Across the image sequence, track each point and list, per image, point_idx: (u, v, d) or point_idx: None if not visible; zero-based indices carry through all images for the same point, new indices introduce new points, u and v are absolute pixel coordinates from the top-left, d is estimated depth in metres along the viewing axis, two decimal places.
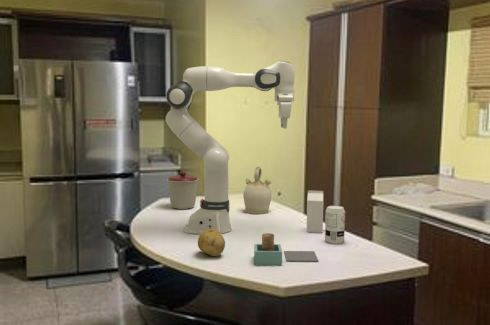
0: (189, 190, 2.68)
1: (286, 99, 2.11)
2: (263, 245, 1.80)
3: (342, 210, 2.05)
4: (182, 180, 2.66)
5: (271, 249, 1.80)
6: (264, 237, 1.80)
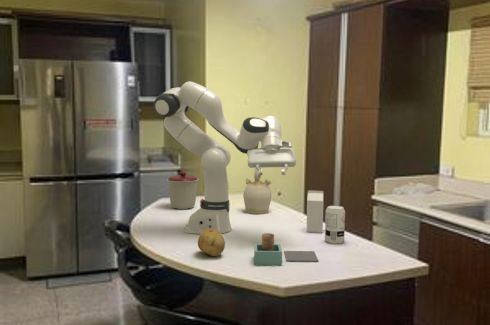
0: (189, 190, 2.68)
1: None
2: (263, 245, 1.80)
3: (342, 210, 2.05)
4: (182, 180, 2.66)
5: (271, 249, 1.80)
6: (264, 237, 1.80)
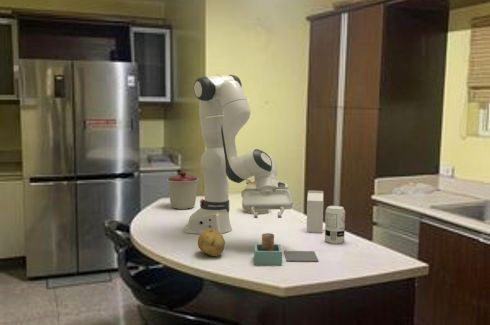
0: (189, 190, 2.68)
1: None
2: (263, 245, 1.80)
3: (342, 210, 2.05)
4: (182, 180, 2.66)
5: (271, 249, 1.80)
6: (264, 237, 1.80)
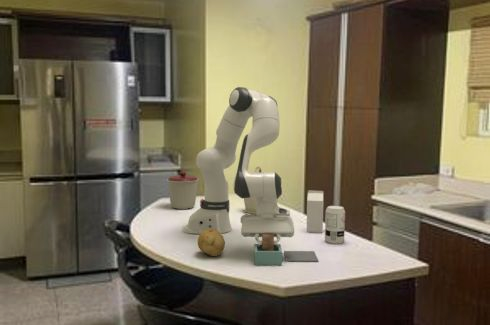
0: (189, 190, 2.68)
1: None
2: (263, 245, 1.80)
3: (342, 210, 2.05)
4: (182, 180, 2.66)
5: (271, 249, 1.80)
6: (264, 237, 1.80)
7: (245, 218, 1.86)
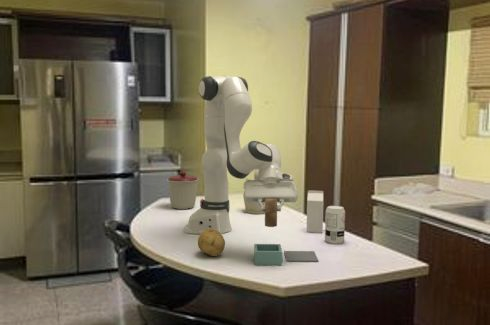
0: (189, 190, 2.68)
1: None
2: (266, 209, 1.79)
3: (342, 210, 2.05)
4: (182, 180, 2.66)
5: (274, 213, 1.79)
6: (267, 201, 1.78)
7: (248, 183, 1.85)
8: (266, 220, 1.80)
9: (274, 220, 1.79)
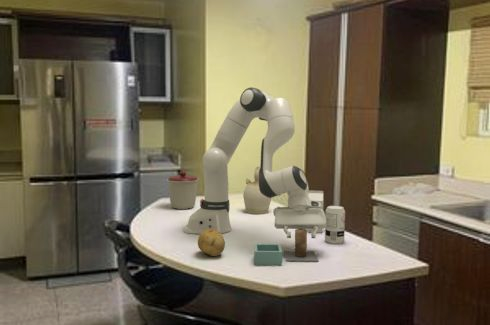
0: (189, 190, 2.68)
1: None
2: (296, 240, 1.85)
3: (342, 210, 2.05)
4: (182, 180, 2.66)
5: (304, 244, 1.85)
6: (297, 232, 1.85)
7: (278, 210, 1.91)
8: (296, 251, 1.86)
9: (304, 251, 1.85)
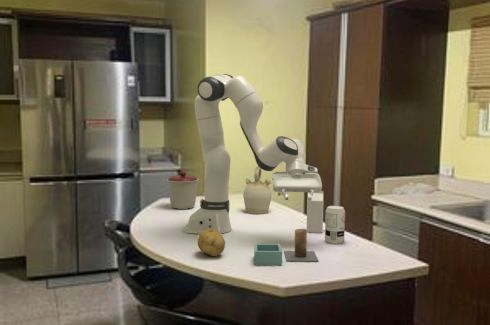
0: (189, 190, 2.68)
1: None
2: (296, 240, 1.85)
3: (342, 210, 2.05)
4: (182, 180, 2.66)
5: (304, 244, 1.85)
6: (297, 232, 1.84)
7: (276, 175, 2.02)
8: (296, 251, 1.86)
9: (304, 251, 1.85)
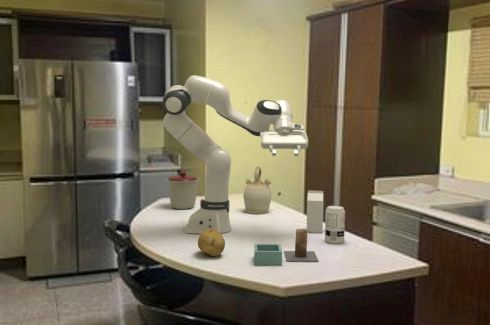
0: (189, 190, 2.68)
1: None
2: (297, 240, 1.85)
3: (342, 210, 2.05)
4: (182, 180, 2.66)
5: (304, 244, 1.85)
6: (298, 232, 1.85)
7: (264, 132, 2.10)
8: (296, 250, 1.86)
9: (304, 251, 1.85)
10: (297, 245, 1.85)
